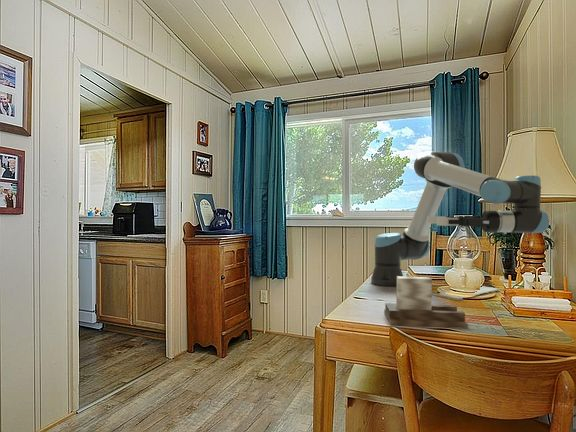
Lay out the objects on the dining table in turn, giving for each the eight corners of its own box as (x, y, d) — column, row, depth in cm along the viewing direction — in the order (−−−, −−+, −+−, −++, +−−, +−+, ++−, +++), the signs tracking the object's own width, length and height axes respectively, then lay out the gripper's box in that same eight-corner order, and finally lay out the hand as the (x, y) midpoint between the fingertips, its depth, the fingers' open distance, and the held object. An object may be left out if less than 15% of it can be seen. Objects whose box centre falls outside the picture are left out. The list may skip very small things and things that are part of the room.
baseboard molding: (430, 296, 152) (458, 302, 143) (430, 289, 152) (458, 294, 142) (472, 287, 170) (499, 292, 160) (472, 281, 170) (499, 285, 160)
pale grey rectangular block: (428, 314, 119) (428, 277, 119) (431, 317, 116) (431, 279, 115) (396, 313, 120) (396, 276, 120) (398, 316, 117) (398, 278, 117)
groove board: (452, 314, 123) (452, 303, 123) (467, 328, 109) (467, 315, 109) (384, 312, 126) (384, 301, 126) (390, 325, 112) (390, 312, 112)
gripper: (513, 235, 117) (442, 234, 119) (482, 230, 141) (423, 229, 144) (513, 211, 116) (442, 210, 119) (482, 210, 141) (424, 209, 144)
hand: (432, 220), depth 132 cm, fingers open, 13 cm apart
